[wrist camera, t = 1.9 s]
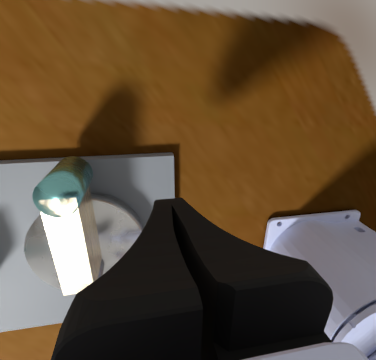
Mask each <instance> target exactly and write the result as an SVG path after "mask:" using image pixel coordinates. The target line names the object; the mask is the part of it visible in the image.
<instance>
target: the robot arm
mask: <svg viewBox="0 0 376 360" xmlns="http://www.w3.org/2000/svg"><path fill="white" fill-rule="evenodd" d="M360 215H361V213H360V212H359V211H357V210H348V211H338V212H328V213H318V214H307V215H297V216H287V217H277V218H271V219H270V220H269V221H268V223H267V229H266V235H265V241H264V247H263V248H260V247H258V246H255V245H252V244H250V243H248V242H246V241H243V240H241V239H239V238H237V237H235V236H233V235H231V234H229V233H228V232H226V231H224V230H222V229H221V228H219V227H217V226H216V225H214V224H213V223H211V222H210V221H209V220H207V219H206V218H205V217H203V216H202V215H201V214H200V213H198V212H197V211H196V210H195V209H194V208H193V207H191V206H190V205H189V204H188V203H187V202H186V201H185V200H184V199H183V198H171V199H159V200H155V201H154V205H153V209H152V212H151V214H150V217H149V219H148V221H147V223H146V225H145V227H144V228H143V230H142V232H141V233H140V235H139V236H138V238H137V239H136V241H135V242H134V243H133V245H132V246H131V247H130V249H129V250H128V251H127V252H126V253H125V254H124V255H123V257H122V258H121V259H120V260H119V261H118V262H117V263H116V264H115V265H114V266H112V267H111V268H110V269H109V270H108V271H107V272H106V273H105V274H103V275H102V276H101V277H99V278H98V279H97V280H95V281H94V282H93V283H91V284H90V285H88V286H87V287H86V288H84V289H83V290H81V291H80V292H78V293H77V294H76V296H75V298H74V299H73V301H72V303H71V306H70V308H69V310H68V312H67V314H66V316H65V318H64V321H63V323H62V326H61V328H60V331H59V334H58V338H57V341H56V345H55V348H54V351H53V355H52V358H51V360H376V232H375V231H373V230H372V229H370V228H369V227H367V226H366V225H364V224H363V223H361V222H360V221H359V218H360ZM278 222H279V224H277V223H278Z"/></svg>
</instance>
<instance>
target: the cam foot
mask: <svg viewBox="0 0 376 360" xmlns="http://www.w3.org/2000/svg"><path fill="white" fill-rule="evenodd" d="M92 178H93V170H92V167H91V166H90V164H89V163H88V162H87V161H86V160H84V159H82V158H80V157H76V156H69V157H66V158H63V159H62V160H61V161H60V162H59V163H58V164H57V165H56V166H55V167H54V168H53V169H52V170H51V171H50V172H49V173H48V174H47V175H46V176H45V177H44V178H43V179H42V180H41V182H40V183H39V184H38V185H37V186H36V187H35V188H34V190H33V195H32V198H33V202H34V204H35V206H36V207H37V209H38V210H39V211H41V213H40V214H39V216H38V217H37V218H36V220H35V221H34V222H33V224H32V225H31V227H30V228H29V230H28V232H27V234H26V237H25V242H24V253H25V257H26V260H27V262H28V265H29V266H30V268H31V269H32V271H33V272H34V273H35V274H36V275H37V276H38V277H39V278H40V279H42V280H43V281H44V282H46V283H47V284H49V285H51V286H53V287H55V288H58V289H61V290H62V291H63V295H71V294H75V295H76V294H77V293H78V292H80V291H81V290H83V289H84V288H86V287H87V286H88V285H90V284H91V283H93V282H94V281H95V280H97V279H98V278H99V277H101V276H102V275H103V274H105V273H106V272H107V271H108V270H109V269H110V268H111V267H112V266H114V265H115V264H116V263H117V262H118V261H119V260H120V259H121V258H122V257H123V255H124V254H125V253H126V252H127V251H128V250H129V249H130V247H131V246H132V245H133V243H134V242H135V241H136V239H137V238H138V236H139V235H140V233H141V232H142V230H143V225H142V222H141V220H140V218H139V217H138V215H137V214H136V212H135V211H134V210H133V209H132V208H131V207H130V206H128V205H127V204H126V203H124V202H123V201H121V200H119V199H117V198H115V197H113V196H110V195H107V194H103V193H97V192H91V191H90V182H91V180H92Z"/></svg>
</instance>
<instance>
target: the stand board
mask: <svg viewBox="0 0 376 360" xmlns="http://www.w3.org/2000/svg"><path fill="white" fill-rule="evenodd" d="M63 158H66V157H63ZM63 158H41V159H19V160H0V332H5V331H11V330H18V329H24V328H31V327H37V326H44V325H50V324H57V323H63V321H64V318H65V316H66V314H67V312H68V310H69V308H70V306H71V303H72V301H73V299H74V298H75V296H76V295H75V294H71V295H63V291H62V290H61V289H58V288H55V287H53V286H51V285H49V284H47V283H46V282H44V281H43V280H42V279H40V278H39V277H38V276H37V275H36V274H35V273H34V272H33V271H32V269H31V268H30V266H29V265H28V262H27V260H26V257H25V253H24V242H25V237H26V234H27V232H28V230H29V228H30V227H31V225H32V224H33V222H34V221H35V220H36V218H37V217H38V216H39V214H40V213H41V211H39V210H38V209H37V207H36V206H35V204H34V202H33V198H32V195H33V190H34V188H35V187H36V186H37V185H38V184H39V183H40V182H41V180H42V179H43V178H44V177H45V176H46V175H47V174H48V173H49V172H50V171H51V170H52V169H53V168H54V167H55V166H56V165H57V164H58V163H59V162H60V161H61V160H62V159H63ZM80 158H82V159H84V160H86V161H87V162H88V163H89V164H90V166H91V167H92V170H93V178H92V180H91V182H90V191H91V192H97V193H103V194H107V195H110V196H113V197H115V198H117V199H119V200H121V201H123V202H124V203H126V204H127V205H128V206H130V207H131V208H132V209H133V210H134V211H135V212H136V214H137V215H138V217H139V218H140V220H141V222H142V225H143V228H144V227H145V225H146V223H147V221H148V219H149V217H150V214H151V212H152V209H153V205H154V201H155V200H159V199H171V198H175V187H174V155H173V152H171V153H149V154H127V155H106V156H84V157H80Z"/></svg>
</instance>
